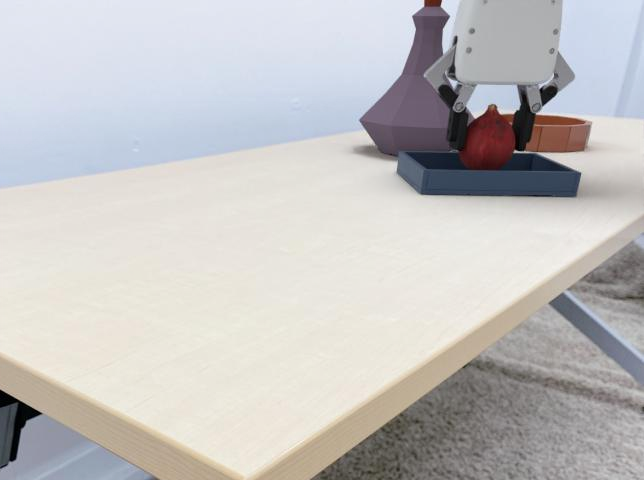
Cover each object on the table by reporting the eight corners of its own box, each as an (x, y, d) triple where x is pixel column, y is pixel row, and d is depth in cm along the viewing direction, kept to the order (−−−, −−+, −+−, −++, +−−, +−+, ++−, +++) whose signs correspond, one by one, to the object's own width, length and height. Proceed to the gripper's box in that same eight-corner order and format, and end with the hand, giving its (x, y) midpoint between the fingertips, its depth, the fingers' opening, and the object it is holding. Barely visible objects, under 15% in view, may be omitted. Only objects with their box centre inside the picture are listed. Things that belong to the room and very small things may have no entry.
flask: (494, 151, 99) (521, -7, 91) (447, 167, 88) (474, -12, 80) (386, 139, 109) (402, -5, 101) (331, 152, 98) (344, -9, 89)
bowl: (560, 137, 112) (565, 114, 111) (604, 152, 99) (610, 126, 97) (467, 135, 113) (470, 113, 111) (498, 151, 99) (503, 125, 98)
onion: (517, 184, 76) (532, 107, 73) (464, 184, 76) (476, 107, 73) (496, 174, 82) (509, 101, 78) (446, 173, 82) (457, 101, 78)
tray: (531, 174, 84) (536, 152, 83) (576, 196, 73) (581, 172, 72) (396, 172, 85) (398, 150, 84) (420, 194, 74) (423, 170, 73)
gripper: (588, -33, 73) (551, 145, 81) (420, -34, 74) (399, 143, 81) (625, -39, 67) (581, 156, 74) (439, -39, 67) (414, 154, 75)
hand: (486, 147), depth 78 cm, fingers closed on onion, 5 cm apart
